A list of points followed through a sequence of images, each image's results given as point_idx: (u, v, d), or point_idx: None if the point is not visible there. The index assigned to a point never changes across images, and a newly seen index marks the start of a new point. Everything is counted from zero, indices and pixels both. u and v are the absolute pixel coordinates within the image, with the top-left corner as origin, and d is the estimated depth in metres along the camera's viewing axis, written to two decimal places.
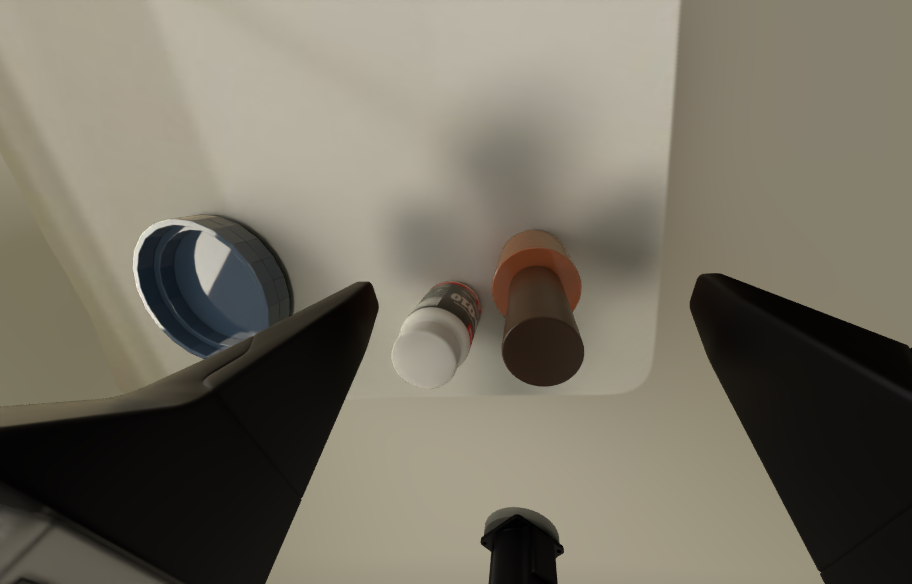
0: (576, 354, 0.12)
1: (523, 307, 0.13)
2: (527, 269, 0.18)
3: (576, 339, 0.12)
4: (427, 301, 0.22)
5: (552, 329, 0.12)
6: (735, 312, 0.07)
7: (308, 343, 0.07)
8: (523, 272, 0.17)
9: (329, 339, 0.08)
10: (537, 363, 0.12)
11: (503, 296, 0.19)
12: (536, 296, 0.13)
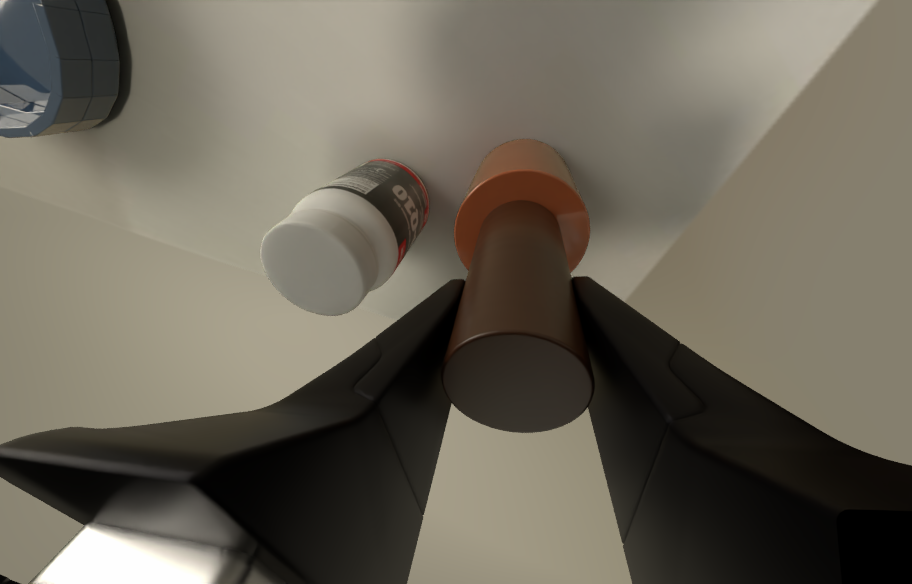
0: (569, 411, 0.06)
1: (517, 292, 0.06)
2: (526, 205, 0.11)
3: (586, 394, 0.06)
4: (353, 180, 0.13)
5: (558, 365, 0.06)
6: (581, 312, 0.07)
7: (432, 346, 0.07)
8: (519, 207, 0.10)
9: (444, 341, 0.07)
10: (497, 398, 0.07)
11: (471, 228, 0.12)
12: (542, 274, 0.07)
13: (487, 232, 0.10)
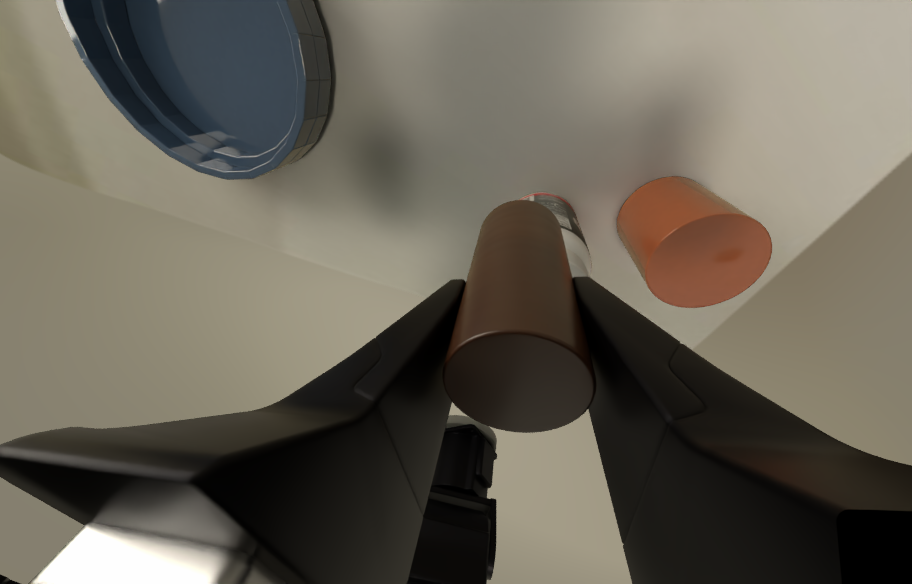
0: (570, 411, 0.06)
1: (518, 292, 0.06)
2: (527, 205, 0.11)
3: (587, 394, 0.06)
4: None
5: (559, 365, 0.06)
6: (581, 312, 0.07)
7: (432, 346, 0.07)
8: (520, 207, 0.10)
9: (444, 341, 0.07)
10: (498, 398, 0.07)
11: (665, 256, 0.15)
12: (543, 274, 0.07)
13: (488, 232, 0.10)
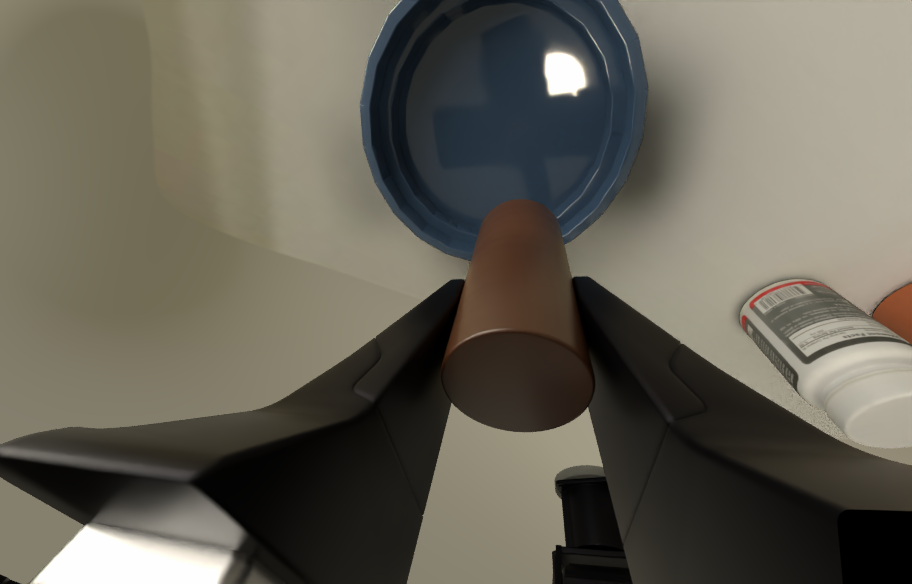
0: (569, 410, 0.06)
1: (517, 291, 0.06)
2: (527, 204, 0.11)
3: (586, 393, 0.06)
4: (875, 325, 0.16)
5: (558, 364, 0.06)
6: (582, 312, 0.07)
7: (432, 346, 0.07)
8: (519, 206, 0.10)
9: (444, 341, 0.07)
10: (497, 397, 0.07)
11: None
12: (542, 273, 0.07)
13: (487, 231, 0.10)
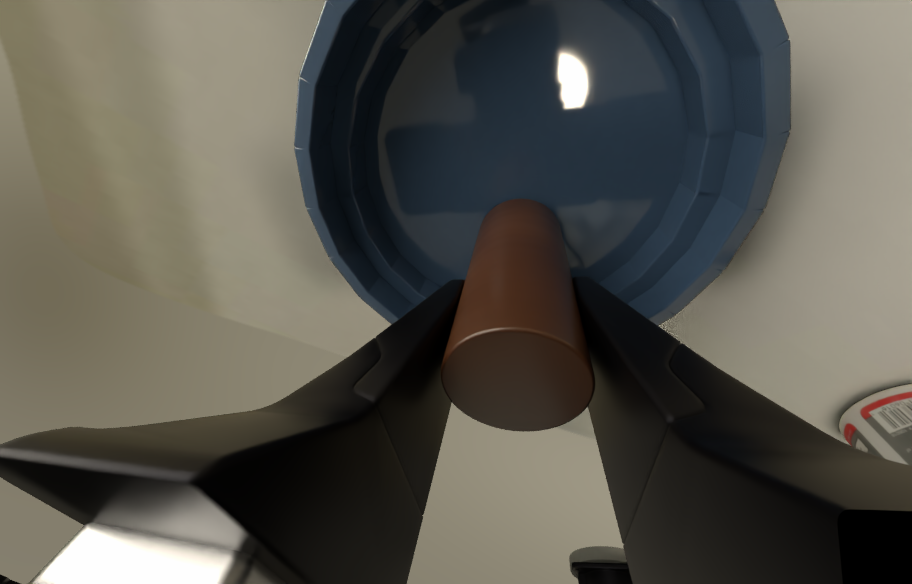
0: (569, 410, 0.06)
1: (517, 290, 0.06)
2: (526, 203, 0.11)
3: (586, 392, 0.06)
4: None
5: (558, 363, 0.06)
6: (582, 312, 0.07)
7: (432, 346, 0.07)
8: (519, 206, 0.10)
9: (444, 341, 0.07)
10: (497, 396, 0.07)
11: None
12: (542, 272, 0.07)
13: (487, 230, 0.10)
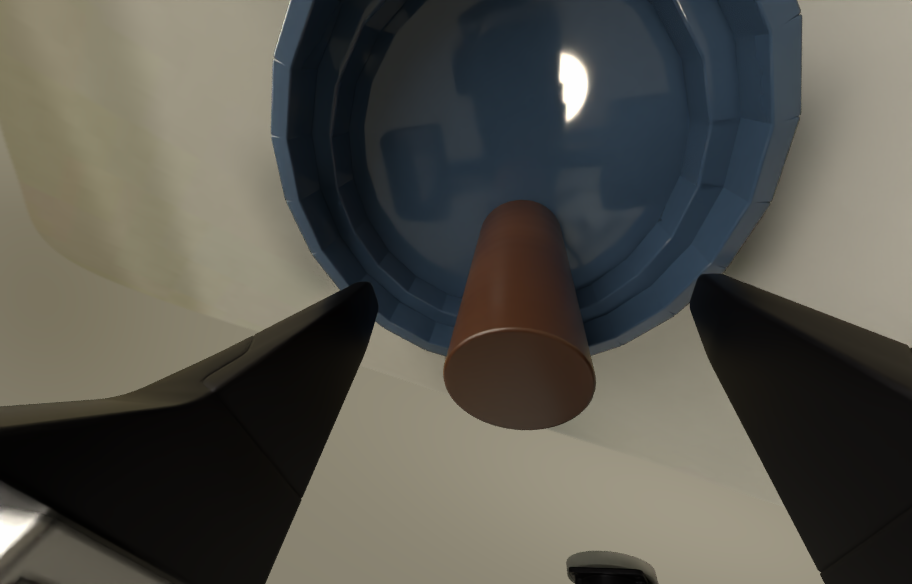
0: (570, 408, 0.06)
1: (518, 290, 0.07)
2: (527, 205, 0.11)
3: (587, 391, 0.06)
4: None
5: (559, 363, 0.06)
6: (735, 312, 0.07)
7: (308, 343, 0.07)
8: (520, 207, 0.11)
9: (329, 339, 0.08)
10: (499, 395, 0.07)
11: None
12: (543, 273, 0.07)
13: (488, 231, 0.10)
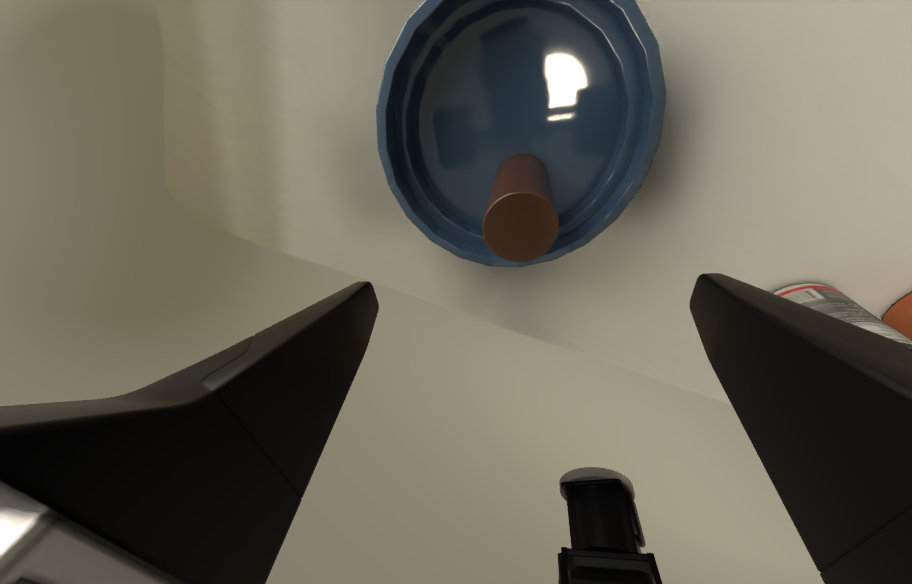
0: (547, 241, 0.13)
1: (521, 182, 0.13)
2: (526, 155, 0.17)
3: (555, 228, 0.12)
4: (888, 331, 0.16)
5: (540, 211, 0.12)
6: (735, 312, 0.07)
7: (308, 343, 0.07)
8: (521, 156, 0.17)
9: (329, 339, 0.08)
10: (511, 236, 0.13)
11: None
12: (534, 178, 0.14)
13: (502, 169, 0.16)
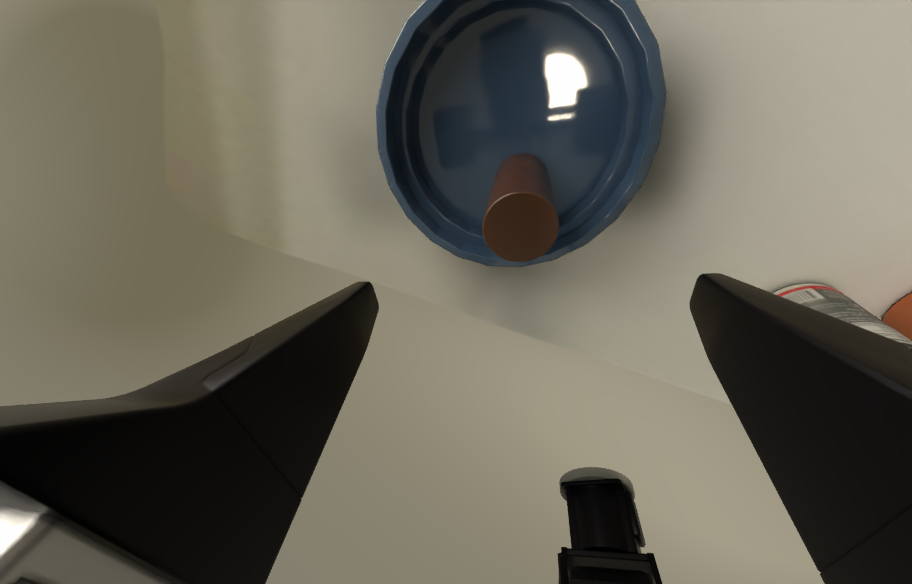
0: (547, 241, 0.13)
1: (521, 182, 0.13)
2: (526, 155, 0.17)
3: (555, 228, 0.12)
4: (889, 331, 0.16)
5: (540, 211, 0.12)
6: (735, 312, 0.07)
7: (308, 343, 0.07)
8: (521, 156, 0.17)
9: (329, 339, 0.08)
10: (511, 236, 0.13)
11: None
12: (534, 178, 0.14)
13: (502, 169, 0.16)
